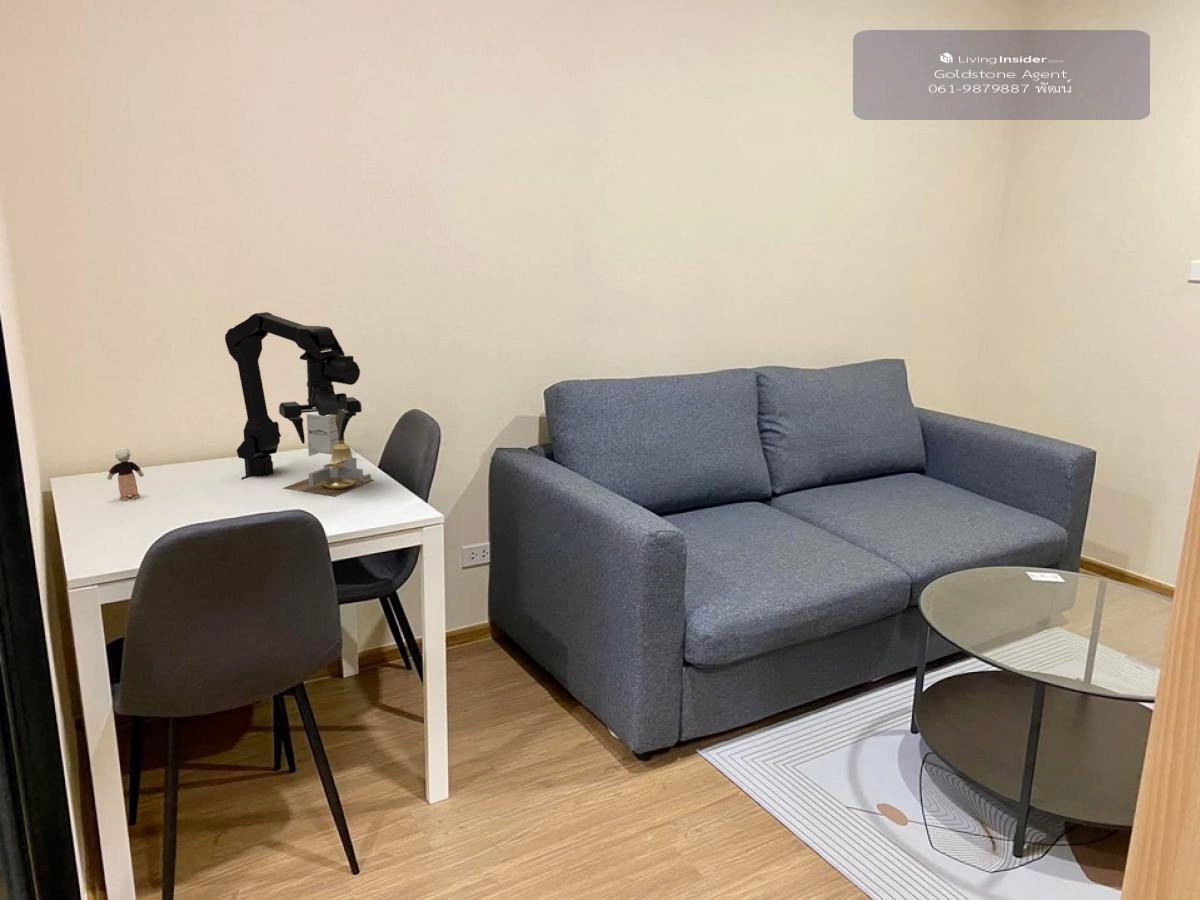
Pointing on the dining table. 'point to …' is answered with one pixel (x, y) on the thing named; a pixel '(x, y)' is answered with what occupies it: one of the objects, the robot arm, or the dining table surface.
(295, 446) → the dining table surface
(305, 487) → the stand
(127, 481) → the grandmother figurine
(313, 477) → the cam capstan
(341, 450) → the hand bell
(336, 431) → the supplement box
